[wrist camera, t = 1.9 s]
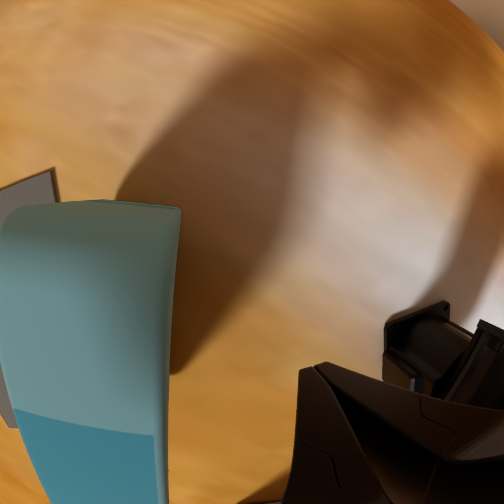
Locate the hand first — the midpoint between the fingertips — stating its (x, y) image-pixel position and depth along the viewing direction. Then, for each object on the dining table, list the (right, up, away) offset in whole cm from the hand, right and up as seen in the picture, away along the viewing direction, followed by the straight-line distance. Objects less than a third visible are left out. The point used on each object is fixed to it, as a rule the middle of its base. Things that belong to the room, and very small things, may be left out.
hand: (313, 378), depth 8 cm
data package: (-9, +1, +10) cm, 13 cm away
